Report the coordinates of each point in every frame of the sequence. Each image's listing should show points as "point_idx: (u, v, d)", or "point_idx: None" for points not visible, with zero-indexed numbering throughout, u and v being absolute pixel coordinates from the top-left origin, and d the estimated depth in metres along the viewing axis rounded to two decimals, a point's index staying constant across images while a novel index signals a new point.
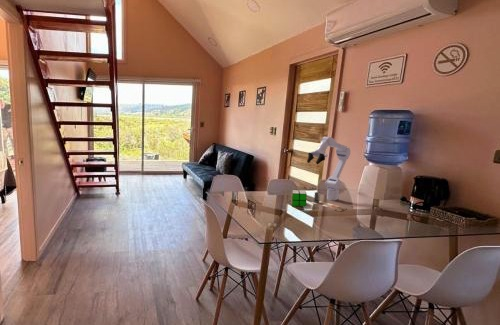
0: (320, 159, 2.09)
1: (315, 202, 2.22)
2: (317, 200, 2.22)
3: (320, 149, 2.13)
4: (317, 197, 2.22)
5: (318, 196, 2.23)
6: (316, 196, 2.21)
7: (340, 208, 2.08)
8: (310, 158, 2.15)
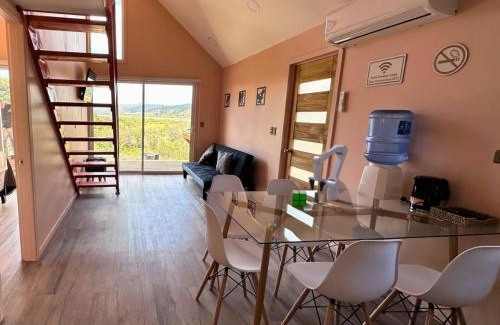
0: (322, 185, 2.19)
1: (315, 202, 2.22)
2: (317, 200, 2.22)
3: (317, 176, 2.18)
4: (317, 197, 2.22)
5: (318, 196, 2.23)
6: (316, 196, 2.21)
7: (340, 208, 2.08)
8: (312, 184, 2.25)
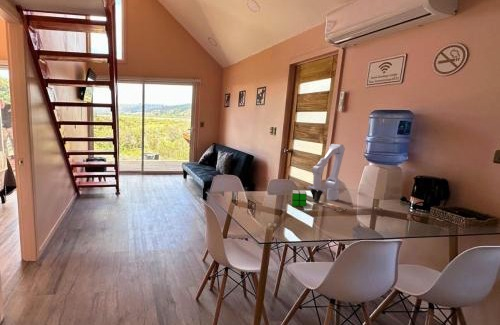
0: (319, 194, 2.21)
1: (315, 202, 2.22)
2: (317, 200, 2.22)
3: (316, 185, 2.19)
4: None
5: None
6: (316, 196, 2.21)
7: (340, 208, 2.08)
8: (314, 194, 2.24)
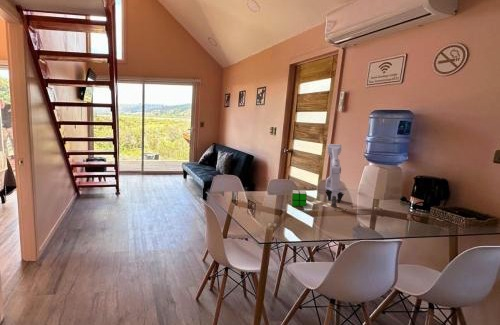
0: (340, 197, 2.09)
1: (333, 206, 2.11)
2: (335, 204, 2.11)
3: (335, 187, 2.08)
4: (335, 201, 2.11)
5: None
6: (334, 200, 2.11)
7: (340, 208, 2.08)
8: (329, 195, 2.14)
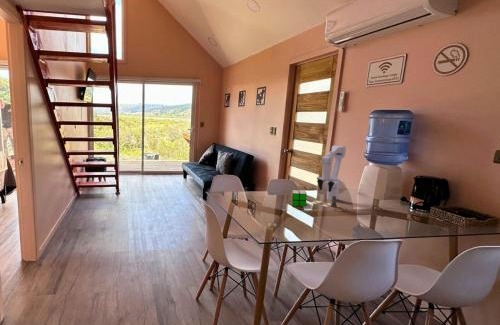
0: None
1: (333, 206, 2.11)
2: (335, 204, 2.11)
3: (326, 176, 2.16)
4: (335, 201, 2.11)
5: None
6: (334, 200, 2.11)
7: (340, 208, 2.08)
8: (321, 184, 2.22)
